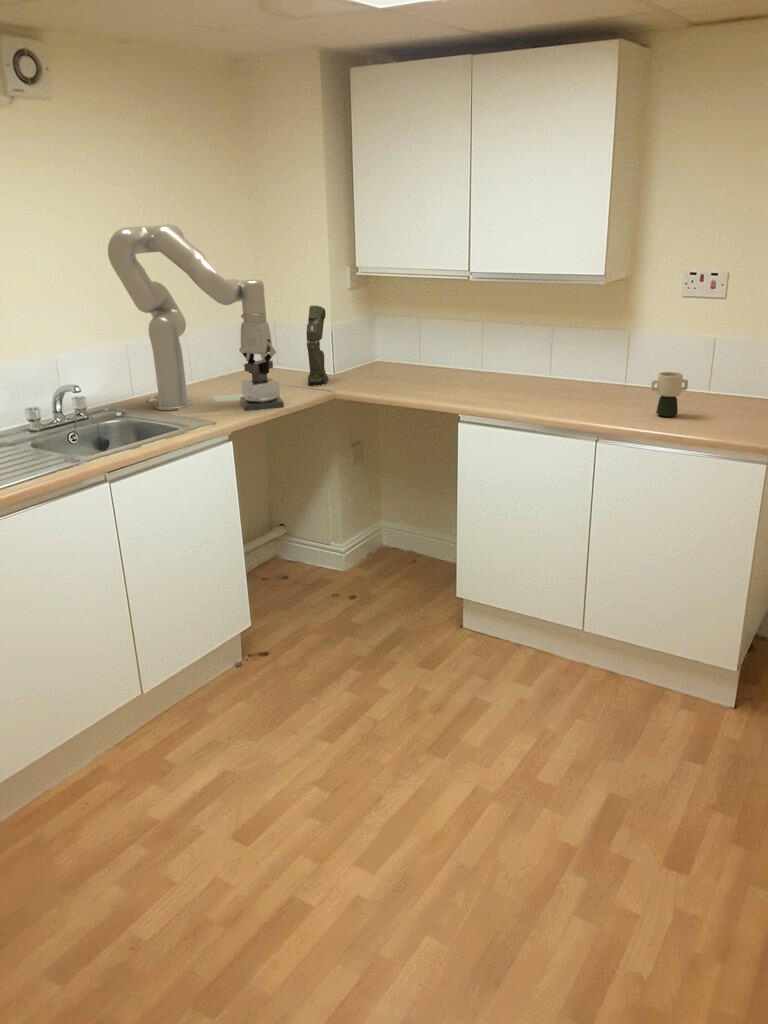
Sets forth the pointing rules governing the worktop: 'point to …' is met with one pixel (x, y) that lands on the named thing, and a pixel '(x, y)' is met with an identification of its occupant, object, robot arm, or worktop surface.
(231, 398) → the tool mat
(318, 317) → the mechanical leg
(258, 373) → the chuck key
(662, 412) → the character mug
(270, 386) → the grey boxy piece
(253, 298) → the robot arm
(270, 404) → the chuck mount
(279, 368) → the worktop surface
